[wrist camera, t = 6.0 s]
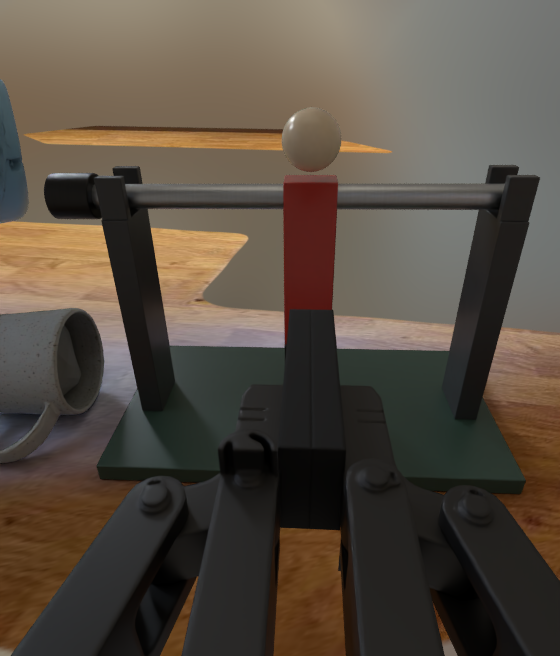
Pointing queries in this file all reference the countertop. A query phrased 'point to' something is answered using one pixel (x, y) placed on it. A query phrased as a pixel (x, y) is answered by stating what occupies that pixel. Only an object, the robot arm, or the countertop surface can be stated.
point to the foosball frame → (354, 364)
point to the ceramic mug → (47, 370)
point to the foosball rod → (285, 203)
